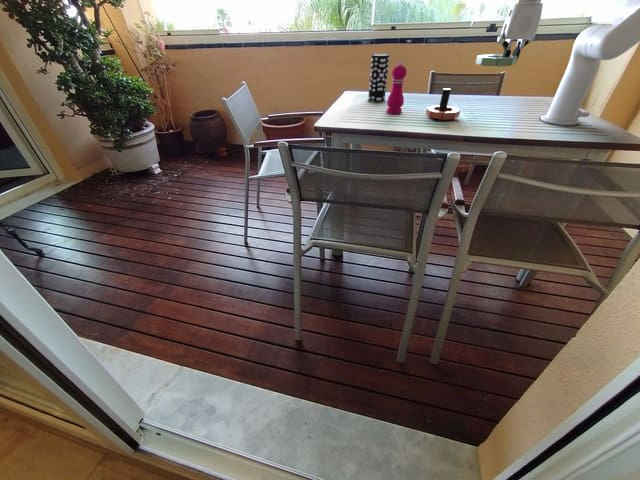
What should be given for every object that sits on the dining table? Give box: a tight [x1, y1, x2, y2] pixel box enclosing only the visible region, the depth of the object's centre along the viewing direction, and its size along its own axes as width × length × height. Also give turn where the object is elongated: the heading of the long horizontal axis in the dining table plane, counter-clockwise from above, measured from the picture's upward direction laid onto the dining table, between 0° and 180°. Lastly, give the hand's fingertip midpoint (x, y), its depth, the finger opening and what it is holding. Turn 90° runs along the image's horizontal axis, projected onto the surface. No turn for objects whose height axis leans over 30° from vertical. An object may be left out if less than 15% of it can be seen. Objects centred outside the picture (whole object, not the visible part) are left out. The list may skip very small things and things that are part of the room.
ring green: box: [475, 53, 518, 67], centre depth 108 cm, size 12×12×2 cm
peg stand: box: [430, 87, 455, 121], centre depth 123 cm, size 8×8×11 cm
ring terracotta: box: [425, 105, 461, 120], centre depth 125 cm, size 12×12×2 cm
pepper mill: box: [386, 60, 408, 115], centre depth 127 cm, size 7×7×20 cm
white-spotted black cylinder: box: [367, 53, 390, 103], centre depth 146 cm, size 8×8×20 cm
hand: (508, 62), depth 109 cm, fingers closed on ring green, 2 cm apart
